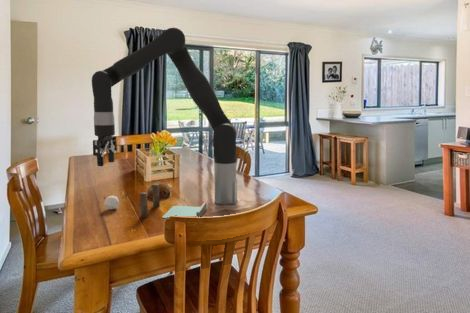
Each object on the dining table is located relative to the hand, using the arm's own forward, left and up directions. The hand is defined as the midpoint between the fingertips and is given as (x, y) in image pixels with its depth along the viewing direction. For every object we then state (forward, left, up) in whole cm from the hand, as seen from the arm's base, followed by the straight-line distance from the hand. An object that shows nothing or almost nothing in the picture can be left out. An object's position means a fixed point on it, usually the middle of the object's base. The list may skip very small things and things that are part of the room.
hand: (106, 164), depth 142 cm
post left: (-19, +9, -18) cm, 28 cm away
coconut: (-15, -18, -18) cm, 30 cm away
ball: (-3, +3, -15) cm, 16 cm away
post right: (-19, -3, -18) cm, 26 cm away
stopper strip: (-40, +3, -18) cm, 43 cm away
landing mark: (-33, +3, -18) cm, 38 cm away
